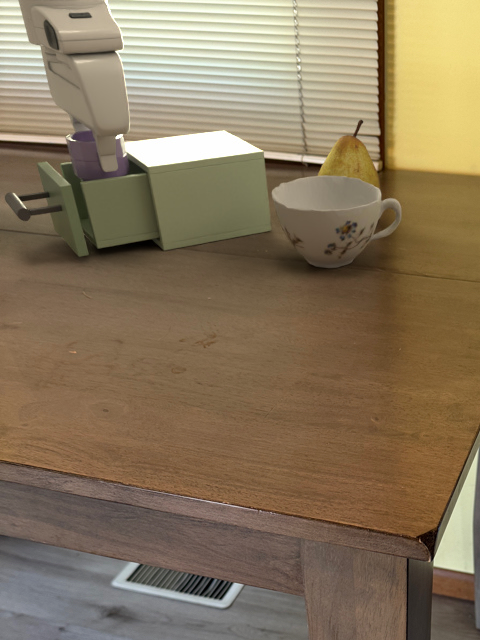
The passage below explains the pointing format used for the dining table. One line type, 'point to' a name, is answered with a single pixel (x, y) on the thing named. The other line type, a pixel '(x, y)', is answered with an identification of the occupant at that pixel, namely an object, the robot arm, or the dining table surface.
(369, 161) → the fruit
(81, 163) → the bowl
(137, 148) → the cabinet
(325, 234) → the teacup
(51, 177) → the drawer
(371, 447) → the dining table surface
